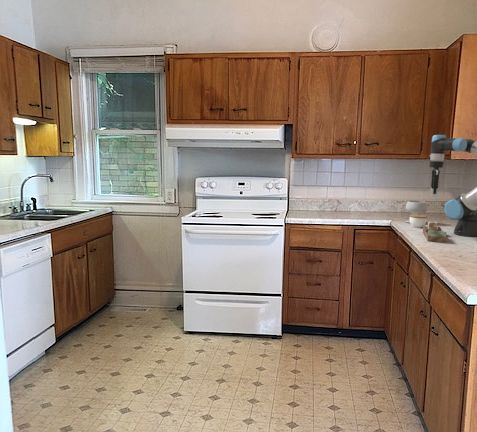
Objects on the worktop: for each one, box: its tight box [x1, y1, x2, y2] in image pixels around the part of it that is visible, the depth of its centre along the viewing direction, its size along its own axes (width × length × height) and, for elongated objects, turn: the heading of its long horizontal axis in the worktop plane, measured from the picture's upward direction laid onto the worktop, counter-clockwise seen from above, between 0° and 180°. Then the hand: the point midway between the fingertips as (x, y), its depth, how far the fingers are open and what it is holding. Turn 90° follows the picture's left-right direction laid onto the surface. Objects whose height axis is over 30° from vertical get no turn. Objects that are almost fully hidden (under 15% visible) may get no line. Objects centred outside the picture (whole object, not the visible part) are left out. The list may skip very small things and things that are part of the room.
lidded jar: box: [409, 213, 428, 229], centre depth 279 cm, size 11×11×9 cm
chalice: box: [405, 200, 428, 224], centre depth 296 cm, size 14×14×15 cm
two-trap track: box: [422, 224, 447, 243], centre depth 246 cm, size 9×27×6 cm, turn 162°
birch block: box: [427, 220, 438, 231], centre depth 254 cm, size 4×4×4 cm
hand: (433, 198), depth 259 cm, fingers open, 6 cm apart
